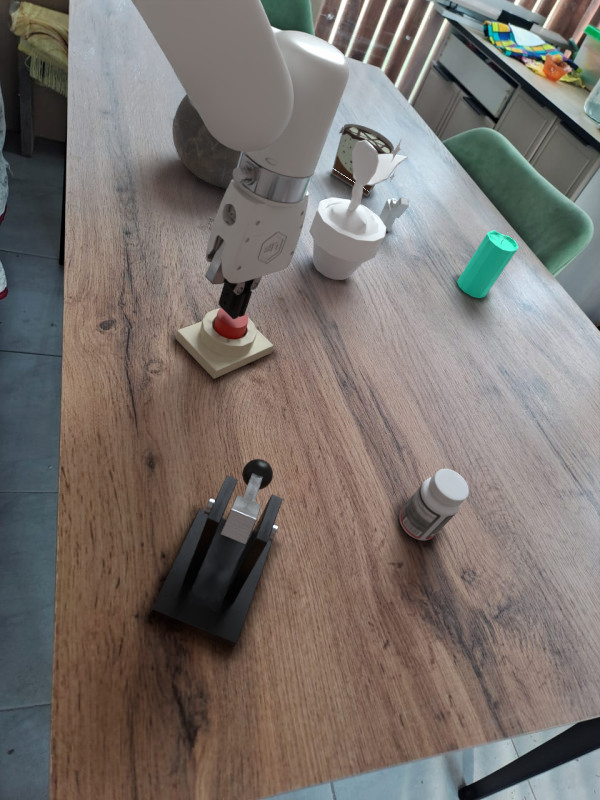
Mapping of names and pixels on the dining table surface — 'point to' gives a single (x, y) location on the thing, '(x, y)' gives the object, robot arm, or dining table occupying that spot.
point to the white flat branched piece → (393, 211)
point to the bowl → (202, 147)
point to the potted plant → (352, 217)
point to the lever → (247, 501)
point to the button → (230, 325)
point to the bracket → (216, 572)
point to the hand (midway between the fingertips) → (230, 310)
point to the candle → (487, 264)
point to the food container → (346, 145)
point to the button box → (222, 346)
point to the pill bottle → (433, 504)
